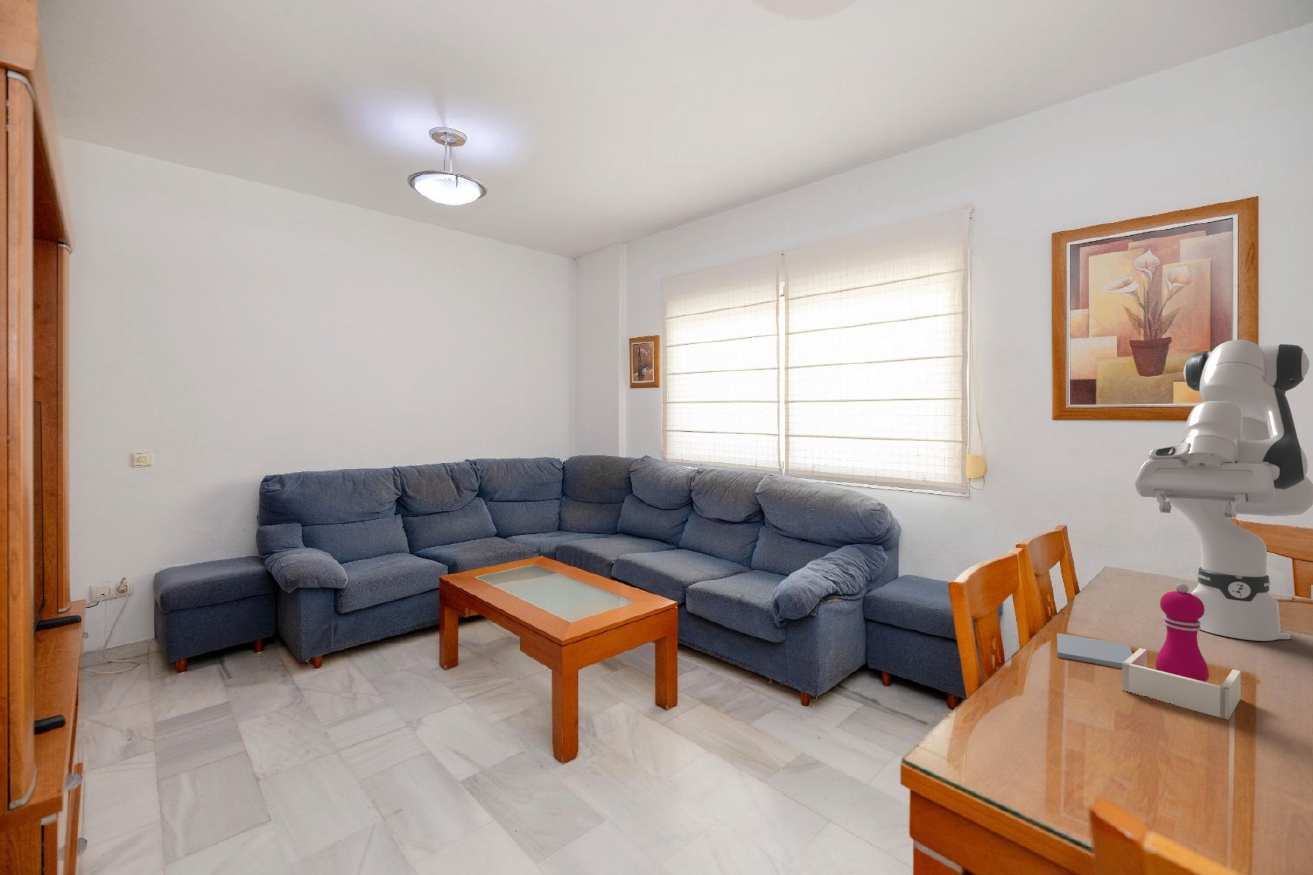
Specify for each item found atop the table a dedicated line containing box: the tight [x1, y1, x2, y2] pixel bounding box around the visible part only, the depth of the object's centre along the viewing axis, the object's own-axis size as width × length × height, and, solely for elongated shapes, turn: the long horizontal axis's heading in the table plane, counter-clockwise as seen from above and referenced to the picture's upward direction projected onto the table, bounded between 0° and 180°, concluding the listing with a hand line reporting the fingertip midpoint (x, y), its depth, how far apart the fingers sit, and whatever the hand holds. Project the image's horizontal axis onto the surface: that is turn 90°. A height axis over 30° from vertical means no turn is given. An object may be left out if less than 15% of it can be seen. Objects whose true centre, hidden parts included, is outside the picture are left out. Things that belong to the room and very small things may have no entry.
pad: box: [1056, 633, 1134, 669], centre depth 124 cm, size 14×13×1 cm
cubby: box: [1121, 647, 1242, 721], centre depth 105 cm, size 12×14×5 cm
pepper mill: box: [1155, 582, 1210, 682], centre depth 105 cm, size 7×7×20 cm
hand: (1196, 513), depth 112 cm, fingers open, 8 cm apart
